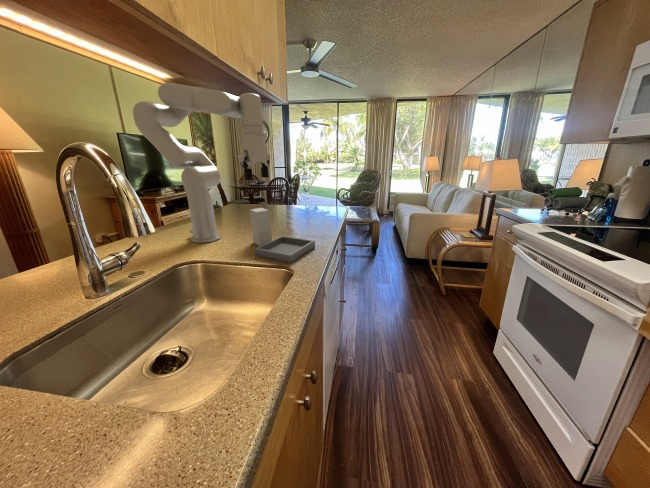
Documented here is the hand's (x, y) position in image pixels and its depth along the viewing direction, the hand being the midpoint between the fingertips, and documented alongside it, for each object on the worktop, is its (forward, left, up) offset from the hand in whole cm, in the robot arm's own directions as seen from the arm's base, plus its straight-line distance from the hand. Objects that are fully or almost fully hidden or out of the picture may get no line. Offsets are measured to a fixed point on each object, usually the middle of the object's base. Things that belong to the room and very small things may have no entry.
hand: (257, 178), depth 104 cm
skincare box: (0, 0, -28) cm, 28 cm away
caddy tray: (+15, -4, -27) cm, 31 cm away
